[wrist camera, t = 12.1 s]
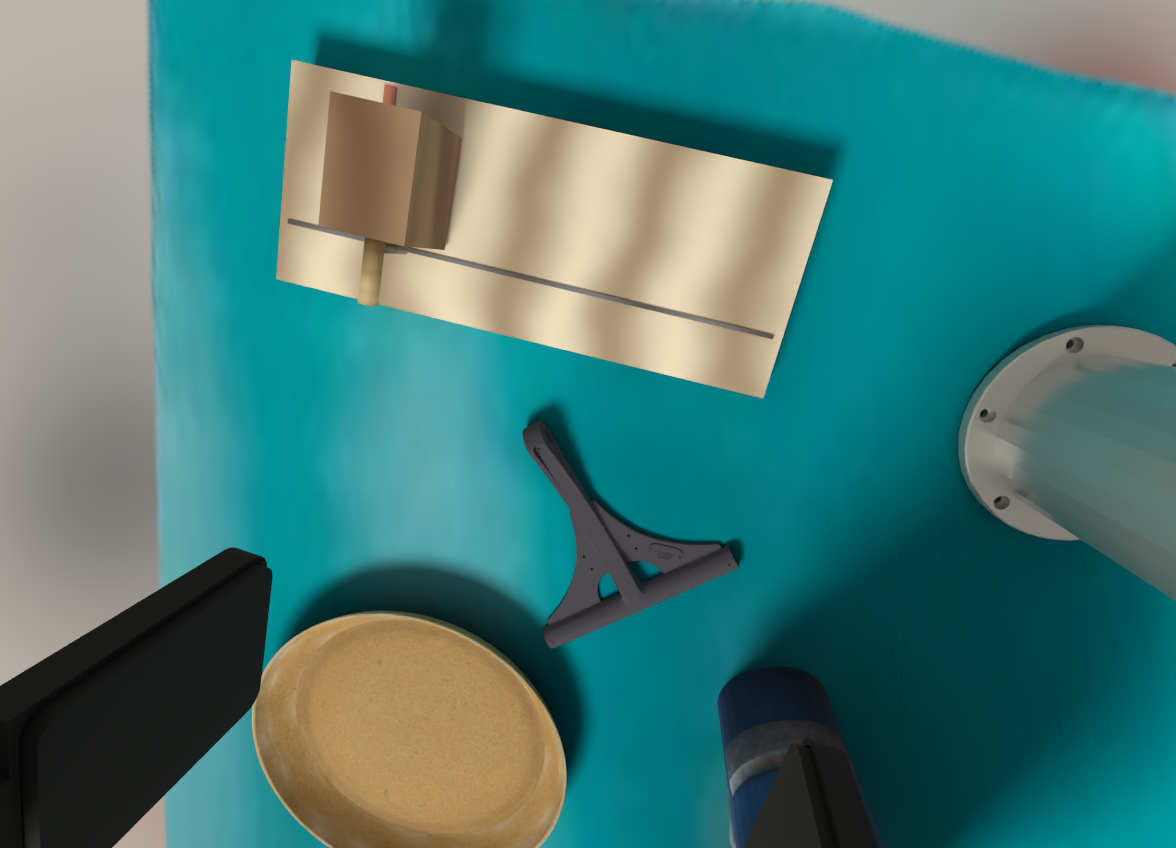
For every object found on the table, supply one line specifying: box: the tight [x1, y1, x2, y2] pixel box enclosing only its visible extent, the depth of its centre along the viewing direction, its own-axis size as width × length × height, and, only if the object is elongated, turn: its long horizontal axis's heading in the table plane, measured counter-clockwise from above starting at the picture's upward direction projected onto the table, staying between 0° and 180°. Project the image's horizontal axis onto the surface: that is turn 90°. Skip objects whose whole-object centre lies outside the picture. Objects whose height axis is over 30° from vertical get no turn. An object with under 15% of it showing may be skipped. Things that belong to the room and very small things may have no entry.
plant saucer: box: [252, 611, 567, 848], centre depth 44 cm, size 24×24×3 cm
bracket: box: [523, 420, 740, 648], centre depth 38 cm, size 14×15×3 cm
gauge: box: [318, 91, 461, 306], centre depth 30 cm, size 4×9×6 cm, turn 167°
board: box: [276, 60, 833, 398], centre depth 34 cm, size 30×12×2 cm, turn 77°
